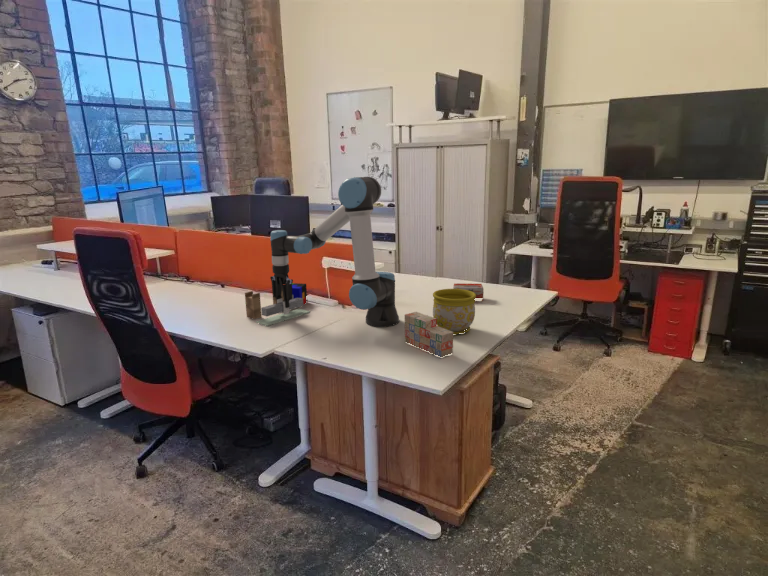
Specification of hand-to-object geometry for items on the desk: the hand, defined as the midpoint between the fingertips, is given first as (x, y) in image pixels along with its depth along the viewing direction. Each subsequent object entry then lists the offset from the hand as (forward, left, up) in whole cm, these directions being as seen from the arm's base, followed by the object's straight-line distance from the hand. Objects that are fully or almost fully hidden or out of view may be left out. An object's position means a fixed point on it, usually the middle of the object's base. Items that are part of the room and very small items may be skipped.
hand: (283, 313), depth 232 cm
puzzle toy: (+13, -18, -2) cm, 22 cm away
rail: (0, 0, +1) cm, 1 cm away
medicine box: (-54, -79, -3) cm, 95 cm away
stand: (+12, 0, -2) cm, 12 cm away
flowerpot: (-73, -32, -2) cm, 80 cm away
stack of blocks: (-76, -8, -3) cm, 77 cm away
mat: (0, 0, -2) cm, 2 cm away
